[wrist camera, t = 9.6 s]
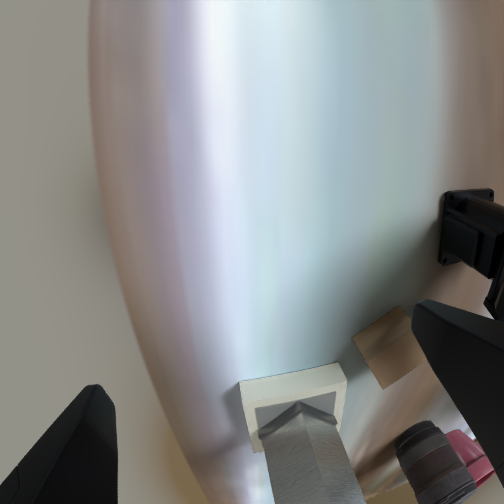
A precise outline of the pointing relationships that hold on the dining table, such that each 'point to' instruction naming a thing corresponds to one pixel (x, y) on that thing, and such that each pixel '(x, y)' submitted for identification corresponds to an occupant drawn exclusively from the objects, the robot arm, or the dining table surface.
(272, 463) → the housing
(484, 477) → the plant pot
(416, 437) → the camera lens
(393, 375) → the walnut block
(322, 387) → the stand
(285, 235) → the dining table surface
